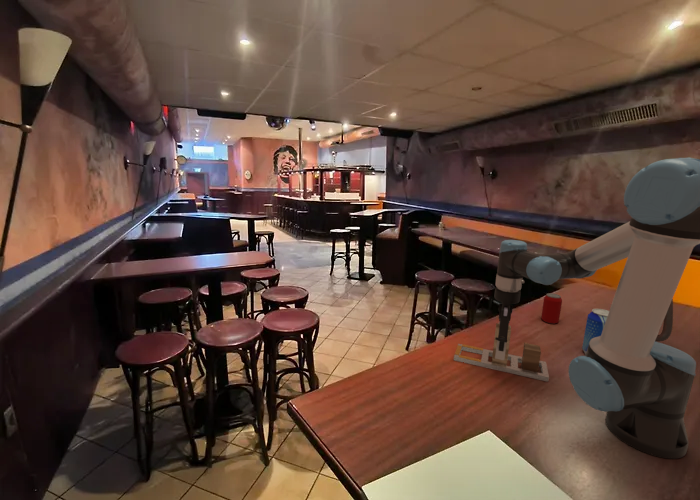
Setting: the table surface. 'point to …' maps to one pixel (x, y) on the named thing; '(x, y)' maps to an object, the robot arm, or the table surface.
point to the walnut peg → (531, 357)
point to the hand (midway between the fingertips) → (500, 349)
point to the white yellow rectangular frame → (495, 366)
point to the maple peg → (498, 361)
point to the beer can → (594, 326)
